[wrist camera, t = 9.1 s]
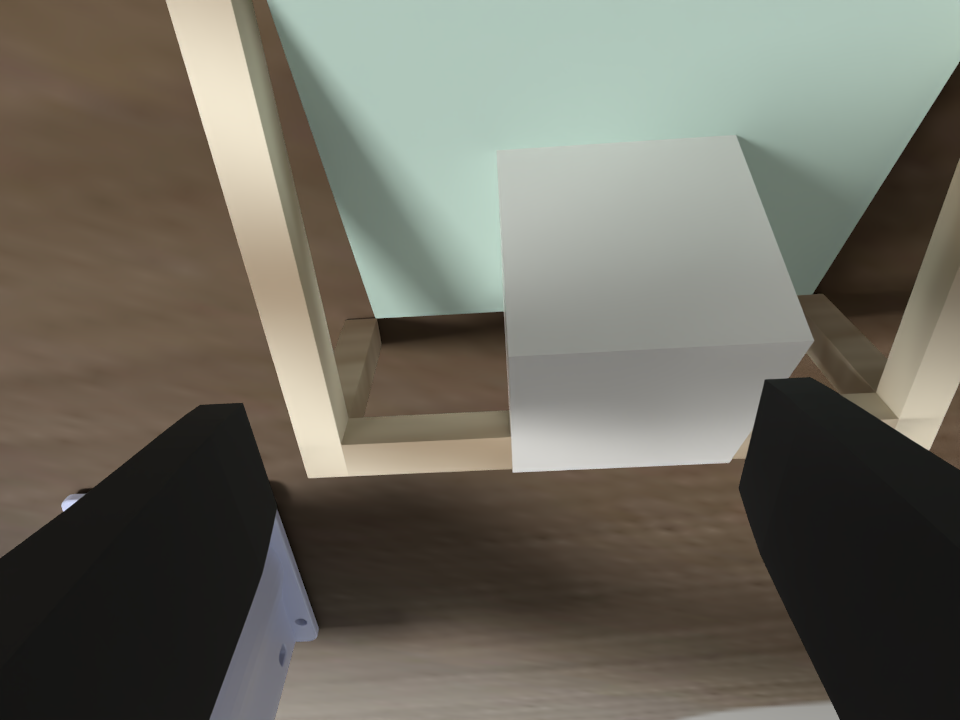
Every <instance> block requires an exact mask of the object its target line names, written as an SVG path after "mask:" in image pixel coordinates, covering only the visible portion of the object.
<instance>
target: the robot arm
mask: <svg viewBox="0 0 960 720" xmlns="http://www.w3.org/2000/svg"><path fill="white" fill-rule="evenodd" d="M739 491H740V494H741V498H742V501H743V504H744V507H745V510H746V513H747V517H748V520H749V523H750V526H751V529H752V532H753V535H754V538H755V540H756V543H757V546H758V549H759V552H760V555H761V557H762V559H763V561H764V563H765V566H766V568H767V570H768V572H769V574H770V576H771V578H772V580H773V582H774V585H775V587H776V589H777V591H778V593H779V595H780V597H781V599H782V601H783V603H784V606H785V608H786V610H787V612H788V614H789V616H790V618H791V620H792V622H793V624H794V626H795V628H796V630H797V632H798V634H799V636H800V638H801V641H802V643H803V645H804V647H805V649H806V651H807V653H808V655H809V657H810V659H811V661H812V663H813V665H814V667H815V669H816V671H817V673H818V675H819V677H820V680H821V682H822V684H823V686H824V688H825V690H826V692H827V694H828V696H829V698H830V700H831V702H832V704H833V706H834V708H835V710H836V712H837V714H838V717H839V719H840V720H960V470H959V469H957V468H955V467H954V466H952V465H951V464H949V463H947V462H946V461H944V460H943V459H941V458H939V457H938V456H936V455H935V454H933V453H932V452H930V451H928V450H927V449H925V448H924V447H922V446H921V445H919V444H917V443H916V442H914V441H913V440H911V439H909V438H908V437H906V436H905V435H903V434H902V433H900V432H899V431H897V430H895V429H894V428H892V427H891V426H889V425H888V424H886V423H884V422H883V421H881V420H880V419H878V418H877V417H875V416H874V415H872V414H870V413H869V412H867V411H866V410H864V409H863V408H861V407H859V406H858V405H856V404H855V403H853V402H851V401H850V400H848V399H847V398H845V397H843V396H842V395H840V394H839V393H837V392H835V391H834V390H832V389H830V388H829V387H827V386H825V385H823V384H822V383H820V382H818V381H816V380H814V379H812V378H811V377H807V378H785V379H765V380H764V385H763V389H762V393H761V397H760V401H759V405H758V410H757V414H756V418H755V422H754V426H753V430H752V435H751V439H750V443H749V447H748V451H747V455H746V460H745V464H744V468H743V472H742V476H741V480H740V485H739ZM61 507H62V510H63V512H62V513H61V514H60V515H58V516H57V517H56V518H54V519H53V520H52V521H50V522H49V523H48V524H46V525H45V526H43V527H42V528H41V529H39V530H38V531H37V532H35V533H34V534H33V535H31V536H30V537H29V538H27V539H26V540H25V541H23V542H22V543H21V544H19V545H18V546H16V547H15V548H14V549H12V550H11V551H10V552H8V553H7V554H6V555H4V556H3V557H2V558H0V720H275V716H276V713H277V709H278V705H279V701H280V698H281V694H282V690H283V686H284V683H285V679H286V675H287V672H288V668H289V664H290V660H291V657H292V653H293V649H294V645H295V642H302V641H312V640H314V639H316V638H317V636H318V631H319V627H318V625H317V622H316V619H315V616H314V613H313V610H312V607H311V605H310V602H309V599H308V596H307V593H306V590H305V587H304V584H303V582H302V579H301V576H300V573H299V570H298V567H297V564H296V561H295V559H294V556H293V553H292V550H291V547H290V544H289V541H288V539H287V536H286V533H285V530H284V527H283V524H282V521H281V518H280V516H279V513H278V510H277V504H276V501H275V498H274V495H273V492H272V489H271V486H270V483H269V480H268V477H267V474H266V471H265V468H264V465H263V462H262V459H261V456H260V453H259V450H258V447H257V444H256V441H255V438H254V435H253V432H252V429H251V426H250V423H249V420H248V417H247V414H246V411H245V408H244V405H243V403H232V404H210V405H199V406H198V407H196V408H195V409H194V410H192V411H191V412H189V413H188V414H186V415H185V416H184V417H182V418H181V419H180V420H178V421H177V422H176V423H175V424H173V425H172V426H171V427H169V428H168V429H167V430H166V431H164V432H163V433H162V434H160V435H159V436H158V437H157V438H155V439H154V440H153V441H152V442H150V443H149V444H148V445H147V446H145V447H144V448H143V449H142V450H140V451H139V452H138V453H137V454H135V455H134V456H133V457H132V458H130V459H129V460H128V461H127V462H126V463H124V464H123V465H122V466H121V467H119V468H118V469H117V470H115V471H114V472H113V473H112V474H110V475H109V476H108V477H107V478H105V479H104V480H103V481H102V482H100V483H99V484H98V485H97V486H95V487H94V488H93V489H91V490H90V491H89V492H88V493H86V494H72V495H69V496H68V497H67V498H66V499H65V500H64V501H63V503H62V506H61Z"/></svg>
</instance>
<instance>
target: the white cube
mask: <svg viewBox="0 0 960 720" xmlns="http://www.w3.org/2000/svg"><path fill="white" fill-rule="evenodd" d="M496 151H497V173H498V195H499V218H500V240H501V262H502V284H503V305H504V323H505V341H506V359H507V377H508V395H509V413H510V431H511V449H512V467H513V472H534V471H556V470H578V469H601V468H623V467H645V466H667V465H689V464H711V463H729V462H730V461H731V459H732V458H733V456H734V455H735V454H736V452H737V451H738V449H739V448H740V446H741V445H742V444H743V442H744V441H745V439H746V438H747V436H748V435H749V434H750V432H751V431H752V429H753V426H754V422H755V418H756V414H757V410H758V405H759V401H760V397H761V393H762V389H763V385H764V380H765V379H785V378H789V376H790V375H791V373H792V372H793V371H794V369H795V368H796V366H797V365H798V363H799V362H800V361H801V359H802V358H803V356H804V355H805V353H806V352H807V351H808V349H809V348H810V346H811V345H812V343H813V342H814V339H813V336H812V334H811V331H810V329H809V326H808V323H807V321H806V318H805V315H804V313H803V310H802V307H801V305H800V302H799V300H798V297H797V294H796V292H795V289H794V286H793V284H792V281H791V279H790V276H789V273H788V271H787V268H786V265H785V263H784V260H783V257H782V255H781V252H780V250H779V247H778V244H777V242H776V239H775V236H774V234H773V231H772V228H771V226H770V223H769V221H768V218H767V215H766V213H765V210H764V207H763V205H762V202H761V200H760V197H759V194H758V192H757V189H756V186H755V184H754V181H753V178H752V176H751V173H750V171H749V168H748V165H747V163H746V160H745V157H744V155H743V152H742V150H741V147H740V144H739V142H738V139H737V136H736V135H725V136H710V137H694V138H679V139H663V140H648V141H632V142H617V143H601V144H586V145H570V146H555V147H539V148H524V149H508V150H496Z"/></svg>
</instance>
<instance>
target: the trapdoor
mask: <svg viewBox="0 0 960 720" xmlns="http://www.w3.org/2000/svg"><path fill="white" fill-rule="evenodd" d="M267 2H268V5H269V8H270V11H271V14H272V17H273V20H274V23H275V26H276V29H277V31H278V34H279V37H280V40H281V43H282V46H283V49H284V52H285V55H286V58H287V61H288V64H289V67H290V70H291V72H292V75H293V78H294V81H295V84H296V87H297V90H298V93H299V96H300V99H301V102H302V105H303V108H304V110H305V113H306V116H307V119H308V122H309V125H310V128H311V131H312V134H313V137H314V140H315V143H316V146H317V148H318V151H319V154H320V157H321V160H322V163H323V166H324V169H325V172H326V175H327V178H328V181H329V184H330V187H331V189H332V192H333V195H334V198H335V201H336V204H337V207H338V210H339V213H340V216H341V219H342V222H343V225H344V227H345V230H346V233H347V236H348V239H349V242H350V245H351V248H352V251H353V254H354V257H355V260H356V263H357V266H358V268H359V271H360V274H361V277H362V280H363V283H364V286H365V289H366V292H367V295H368V298H369V301H370V304H371V306H372V309H373V312H374V315H375V318H393V317H412V316H430V315H448V314H466V313H485V312H503V311H504V305H503V284H502V262H501V240H500V218H499V195H498V173H497V151H496V150H508V149H524V148H539V147H555V146H570V145H586V144H601V143H617V142H632V141H648V140H663V139H679V138H694V137H710V136H725V135H736V136H737V139H738V142H739V144H740V147H741V150H742V152H743V155H744V157H745V160H746V163H747V165H748V168H749V171H750V173H751V176H752V178H753V181H754V184H755V186H756V189H757V192H758V194H759V197H760V200H761V202H762V205H763V207H764V210H765V213H766V215H767V218H768V221H769V223H770V226H771V228H772V231H773V234H774V236H775V239H776V242H777V244H778V247H779V250H780V252H781V255H782V257H783V260H784V263H785V265H786V268H787V271H788V273H789V276H790V279H791V281H792V284H793V286H794V289H795V292H796V294H797V295H812V294H813V292H814V291H815V289H816V288H817V286H818V285H819V283H820V281H821V280H822V278H823V277H824V275H825V274H826V272H827V270H828V269H829V267H830V266H831V264H832V262H833V261H834V259H835V258H836V256H837V255H838V253H839V251H840V250H841V248H842V247H843V245H844V243H845V242H846V240H847V239H848V237H849V236H850V234H851V232H852V231H853V229H854V228H855V226H856V225H857V223H858V221H859V220H860V218H861V217H862V215H863V213H864V212H865V210H866V209H867V207H868V206H869V204H870V202H871V201H872V199H873V198H874V196H875V194H876V193H877V191H878V190H879V188H880V187H881V185H882V183H883V182H884V180H885V179H886V177H887V176H888V174H889V172H890V171H891V169H892V168H893V166H894V164H895V163H896V161H897V160H898V158H899V157H900V155H901V153H902V152H903V150H904V149H905V147H906V145H907V144H908V142H909V141H910V139H911V138H912V136H913V134H914V133H915V131H916V130H917V128H918V127H919V125H920V123H921V122H922V120H923V119H924V117H925V115H926V114H927V112H928V111H929V109H930V108H931V106H932V104H933V103H934V101H935V100H936V98H937V96H938V95H939V93H940V92H941V90H942V89H943V87H944V85H945V84H946V82H947V81H948V79H949V78H950V76H951V74H952V73H953V71H954V70H955V68H956V66H957V65H958V63H959V62H960V0H267Z"/></svg>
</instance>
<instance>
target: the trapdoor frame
mask: <svg viewBox="0 0 960 720" xmlns="http://www.w3.org/2000/svg"><path fill="white" fill-rule="evenodd" d="M166 2H167V6H168V9H169V12H170V16H171V19H172V22H173V26H174V29H175V32H176V36H177V39H178V43H179V46H180V49H181V53H182V56H183V59H184V63H185V66H186V69H187V73H188V76H189V79H190V83H191V86H192V90H193V93H194V96H195V100H196V103H197V106H198V110H199V113H200V116H201V120H202V123H203V127H204V130H205V133H206V137H207V140H208V143H209V147H210V150H211V153H212V157H213V160H214V163H215V167H216V170H217V174H218V177H219V180H220V184H221V187H222V190H223V194H224V197H225V200H226V204H227V207H228V211H229V214H230V217H231V221H232V224H233V227H234V231H235V234H236V237H237V241H238V244H239V247H240V251H241V254H242V258H243V261H244V264H245V268H246V271H247V274H248V278H249V281H250V284H251V288H252V291H253V295H254V298H255V301H256V305H257V308H258V311H259V315H260V318H261V321H262V325H263V328H264V331H265V335H266V338H267V342H268V345H269V348H270V352H271V355H272V358H273V362H274V365H275V368H276V372H277V375H278V379H279V382H280V385H281V389H282V392H283V395H284V399H285V402H286V405H287V409H288V412H289V415H290V419H291V422H292V426H293V429H294V432H295V436H296V439H297V442H298V446H299V449H300V452H301V456H302V459H303V463H304V466H305V469H306V473H307V476H308V478H322V477H344V476H366V475H388V474H410V473H432V472H454V471H476V470H498V469H513V467H512V449H511V431H510V413H509V411H489V412H468V413H448V414H427V415H407V416H386V417H366V418H363V417H364V413H365V409H366V406H367V402H368V398H369V394H370V390H371V386H372V382H373V378H374V374H375V370H376V366H377V362H378V358H379V354H380V350H381V346H382V344H381V338H380V333H379V327H378V321H377V318H371V319H353V320H345V323H344V325H343V328H342V331H341V334H340V336H339V339H338V342H337V345H336V347H335V350H334V353H333V349H332V344H331V340H330V336H329V331H328V327H327V323H326V318H325V314H324V310H323V305H322V301H321V297H320V292H319V288H318V284H317V279H316V275H315V271H314V267H313V262H312V258H311V254H310V249H309V245H308V241H307V236H306V232H305V228H304V223H303V219H302V215H301V210H300V206H299V202H298V197H297V193H296V189H295V184H294V180H293V176H292V171H291V167H290V163H289V158H288V154H287V150H286V145H285V141H284V137H283V132H282V128H281V124H280V120H279V115H278V111H277V107H276V102H275V98H274V94H273V89H272V85H271V81H270V76H269V72H268V68H267V63H266V59H265V55H264V50H263V46H262V42H261V37H260V33H259V29H258V24H257V20H256V16H255V11H254V7H253V3H252V0H166ZM797 297H798V300H799V302H800V305H801V307H802V310H803V313H804V315H805V318H806V321H807V323H808V326H809V329H810V331H811V334H812V336H813V339H814V342H813V343H812V345H811V346H810V348H809V349H808V351H807V352H806V353H807V354H808V355H809V357H810V358H811V359H812V360H813V362H814V363H815V364H816V365H817V367H818V368H819V369H820V370H821V372H822V373H823V374H824V375H825V377H826V378H827V379H828V380H829V382H830V383H831V384H832V385H833V386H834V388H835V389H836V390H837V391H838V393H839V394H840V395H842V396H843V397H845V398H847V399H848V400H850V401H851V402H853V403H855V404H856V405H858V406H859V407H861V408H863V409H864V410H866V411H867V412H869V413H870V414H872V415H874V416H875V417H877V418H878V419H880V420H881V421H883V422H884V423H886V424H888V425H889V426H891V427H892V428H894V429H895V430H897V431H899V432H900V433H902V434H903V435H905V436H906V437H908V438H909V439H911V440H913V441H914V442H916V443H917V444H919V445H921V446H922V447H924V448H925V449H927V450H930V447H931V445H932V443H933V441H934V438H935V436H936V434H937V432H938V430H939V427H940V425H941V423H942V421H943V418H944V416H945V414H946V412H947V409H948V407H949V405H950V403H951V400H952V398H953V396H954V394H955V391H956V389H957V387H958V385H959V382H960V159H959V162H958V164H957V167H956V170H955V173H954V176H953V178H952V181H951V184H950V187H949V190H948V192H947V195H946V198H945V201H944V204H943V206H942V209H941V212H940V215H939V217H938V220H937V223H936V226H935V229H934V231H933V234H932V237H931V240H930V243H929V245H928V248H927V251H926V254H925V257H924V259H923V262H922V265H921V268H920V270H919V273H918V276H917V279H916V282H915V284H914V287H913V290H912V293H911V296H910V298H909V301H908V304H907V307H906V310H905V312H904V315H903V318H902V321H901V324H900V326H899V329H898V332H897V335H896V337H895V340H894V343H893V346H892V349H891V351H890V354H889V357H888V359H887V358H886V357H885V356H884V355H883V354H882V353H881V352H880V351H879V350H878V349H877V348H876V347H875V346H874V345H873V344H872V343H871V342H870V341H869V340H868V339H867V338H866V337H865V336H864V335H863V334H862V333H861V332H860V331H859V330H858V329H857V328H856V327H855V326H854V325H853V324H852V323H851V322H850V321H849V320H848V319H847V318H846V317H845V316H844V315H843V314H842V313H841V312H840V311H839V310H838V309H837V308H836V306H835V305H834V304H833V303H832V302H831V301H830V300H829V299H828V298H827V297H826V296H825V295H824V294H812V295H797ZM752 430H753V429H752ZM751 435H752V431H751V432H750V434H749V435H748V436H747V438H746V439H745V441H744V442H743V444H742V445H741V446H740V448H739V449H738V451H737V452H736V454H735V455H734V456H733V458H732V459H741V458H746V455H747V451H748V447H749V443H750V439H751Z"/></svg>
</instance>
